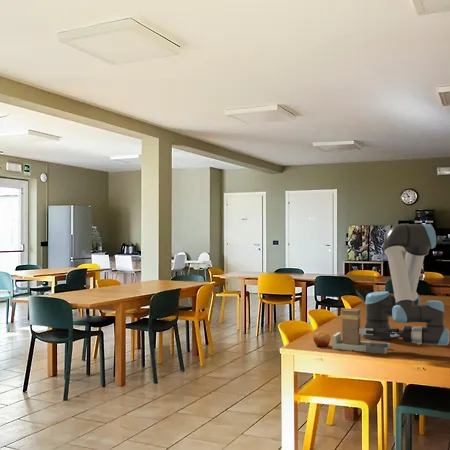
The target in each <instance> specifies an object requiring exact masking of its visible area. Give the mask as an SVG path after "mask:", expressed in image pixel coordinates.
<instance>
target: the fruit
mask: <svg viewBox="0 0 450 450" xmlns="http://www.w3.org/2000/svg"><path fill="white" fill-rule="evenodd" d="M330 341H331V336H330V333H328V332H326V331H325V330H320V331H316V332H315V333H314V334H313V342H314V344H315V345H316V346H317V347H318V346H319V347H328V346H329V345H330Z"/></svg>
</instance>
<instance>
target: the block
mask: <svg viewBox="0 0 450 450" xmlns="http://www.w3.org/2000/svg"><path fill="white" fill-rule="evenodd" d="M361 317H362V315H361V309H360V308H344V309H343V310H342V315H341V319H342V320H341V322H342V327H341V328H342V329H341V330H342V332H341V340H343V344H353V345H361V341H362V339H361V335H362V334H359V328H361Z"/></svg>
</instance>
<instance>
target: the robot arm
mask: <svg viewBox="0 0 450 450" xmlns="http://www.w3.org/2000/svg"><path fill="white" fill-rule="evenodd" d="M436 246H437V235H436V230H435V229H434V227H433V225H431V224H429V223H428V224H427V223H420V224H419V223H412V224H411V223H406V224H404V223H399V224H395V225H394V226H392V227H391V228H390V229H389V230H388V231H387V232H386V235H385V237H384V240H383V251H384V252H383V253H384V254H385V256H387V261H388V267H389V273H390V278H391V283H392V290H393V294H392V293H391V294H390V292H389V291H385V290H383V291H374V292H373V291H372V292H370V293H367V295H366V296H365V324H364V327H360V328H359V334H361V335H362V338H364V339H368V340H373V341H375V340H376V341H387V340H392V339H393V340H394V339H396V340H398V339H399V338H400V339H401V338H402V341H403V343H405V344H411V343H412V344H417V345H421V344H422V345H432V346H448V345H449V344H450V329H449V328H446V327H445V304H444V302H443V301H442V300H426V301H425V304H423V305H421V298H420V296H419V293H418V292H417V288H418V284H419V280H420V277H421V272H422V268H423V267H422V266H423V265H424V264H423V263H424V260H425V256H427V255H428V254H429V252H430V249H431V250H432V249H434V248H436ZM405 252H406V253H405ZM390 318H392V320H393V322H394V323H401V324H402V323H403V324H408V323H410V324H411V323H425V326H417V325H416V326H415V325H413V326H411V325H402V330H401V329H400V328H392V327H391V324H390Z"/></svg>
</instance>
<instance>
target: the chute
mask: <svg viewBox="0 0 450 450" xmlns="http://www.w3.org/2000/svg"><path fill="white" fill-rule="evenodd" d="M332 349H333V350H340V349H341V351H352V350H354V352H363V351H364V352H365V353H370V354H371V353H372V354H379V355H380V354H383V355H384V354H385V355H387V353H388V350H391V343H389V342H386V341H385V342H384V341H383V342H381V341H374V340H372V341H366V340H365V341H362V340H361V345H353V344H343V340H342V332H341V331H337V332H336V333H335V334H333V335H332Z"/></svg>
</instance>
